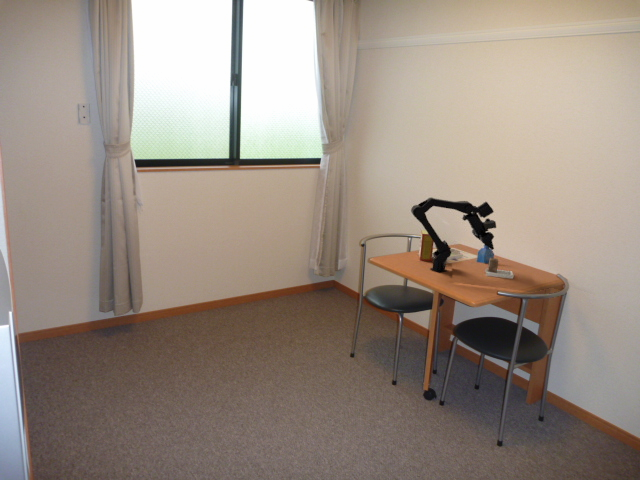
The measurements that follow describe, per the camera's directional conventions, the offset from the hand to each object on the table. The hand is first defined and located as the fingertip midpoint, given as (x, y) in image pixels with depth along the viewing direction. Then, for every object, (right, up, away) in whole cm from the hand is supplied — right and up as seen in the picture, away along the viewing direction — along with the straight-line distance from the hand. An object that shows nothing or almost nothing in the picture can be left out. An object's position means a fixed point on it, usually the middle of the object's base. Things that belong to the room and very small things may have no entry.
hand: (490, 247), depth 253 cm
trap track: (+3, -16, -3) cm, 16 cm away
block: (0, -14, -3) cm, 14 cm away
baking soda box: (-29, -7, +25) cm, 39 cm away
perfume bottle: (+4, -10, +20) cm, 23 cm away
